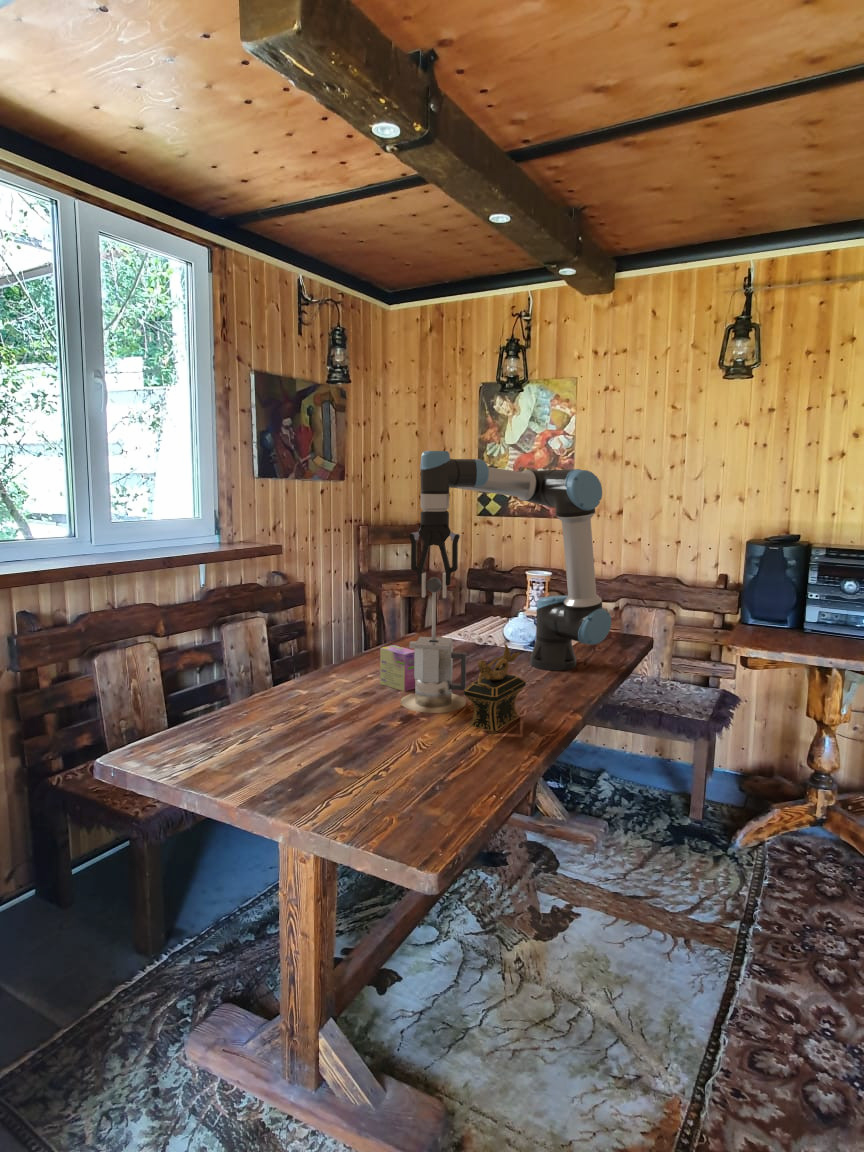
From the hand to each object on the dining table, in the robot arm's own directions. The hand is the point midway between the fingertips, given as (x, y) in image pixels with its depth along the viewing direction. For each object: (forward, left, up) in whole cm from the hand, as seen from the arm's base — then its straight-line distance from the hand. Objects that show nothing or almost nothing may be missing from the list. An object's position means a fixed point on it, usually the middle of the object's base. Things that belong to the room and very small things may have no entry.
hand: (434, 596), depth 188 cm
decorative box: (-18, +11, -30) cm, 37 cm away
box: (+12, -13, -30) cm, 35 cm away
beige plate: (0, 0, -30) cm, 30 cm away
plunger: (0, 0, -12) cm, 12 cm away
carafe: (-1, 0, -29) cm, 29 cm away
